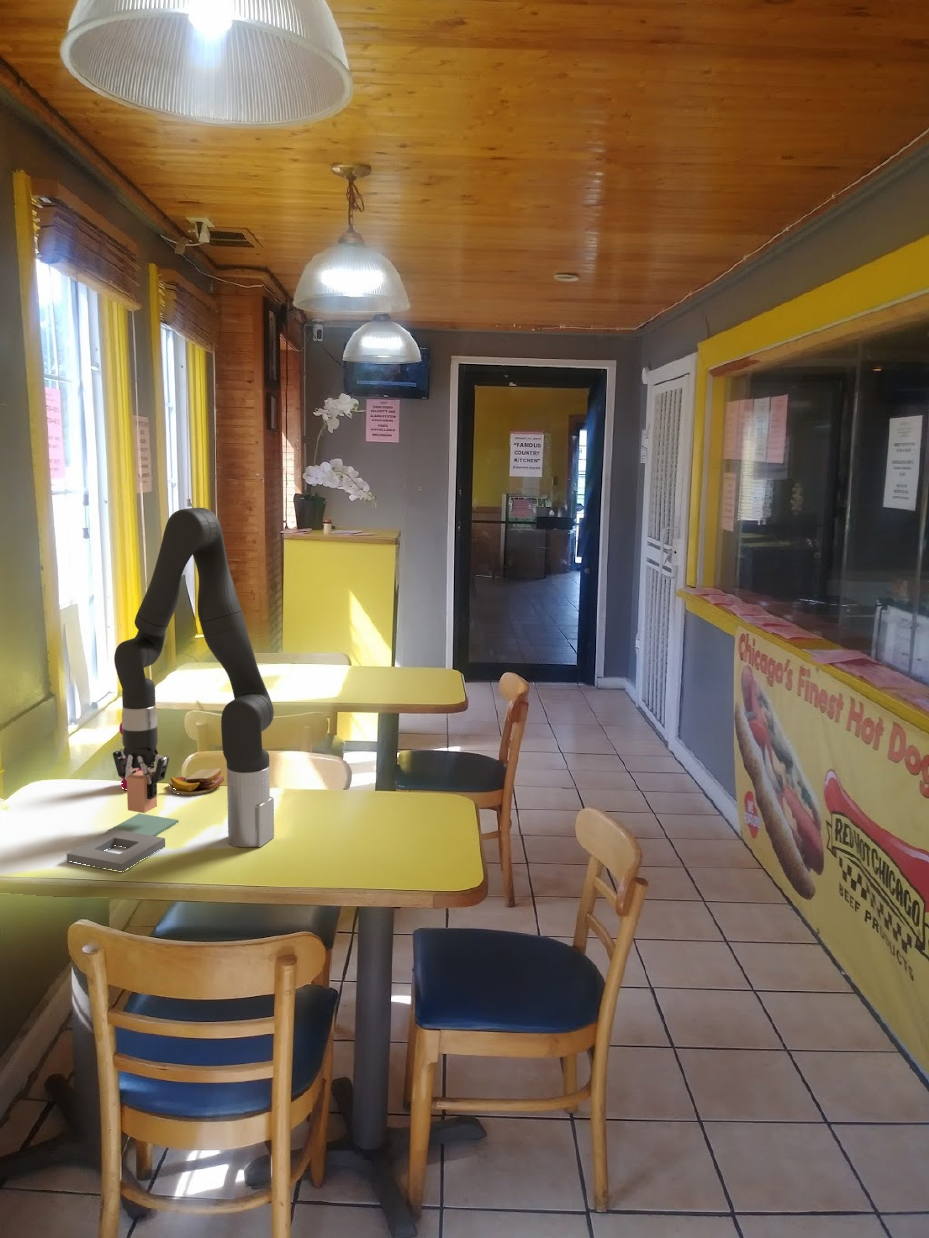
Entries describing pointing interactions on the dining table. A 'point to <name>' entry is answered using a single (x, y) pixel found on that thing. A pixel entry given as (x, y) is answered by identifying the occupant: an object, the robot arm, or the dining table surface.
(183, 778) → the toy sandwich meal
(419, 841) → the dining table surface
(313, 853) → the dining table surface
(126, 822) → the rubber pad
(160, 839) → the pocket plate
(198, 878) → the dining table surface
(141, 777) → the terracotta block
